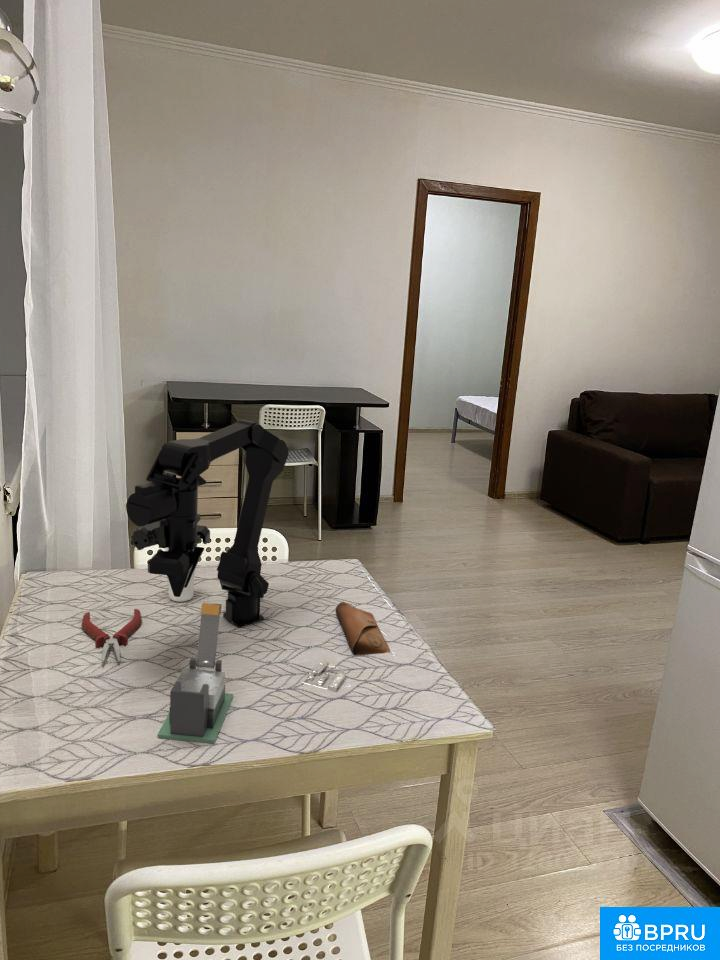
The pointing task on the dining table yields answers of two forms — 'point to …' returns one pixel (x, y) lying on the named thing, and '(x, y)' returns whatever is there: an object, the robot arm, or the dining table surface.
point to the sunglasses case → (361, 630)
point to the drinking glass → (186, 592)
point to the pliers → (104, 639)
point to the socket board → (192, 713)
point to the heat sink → (216, 681)
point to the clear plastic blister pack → (334, 684)
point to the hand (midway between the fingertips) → (180, 591)
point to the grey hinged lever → (208, 635)
